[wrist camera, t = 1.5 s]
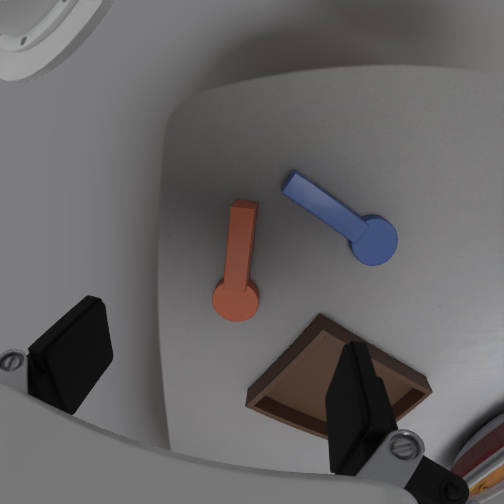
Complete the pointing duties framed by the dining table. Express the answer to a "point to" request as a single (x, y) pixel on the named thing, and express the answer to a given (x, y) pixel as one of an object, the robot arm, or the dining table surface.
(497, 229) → the dining table surface
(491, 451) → the bowl
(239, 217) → the terracotta spoon
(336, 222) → the blue spoon
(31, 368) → the robot arm
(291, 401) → the tray
